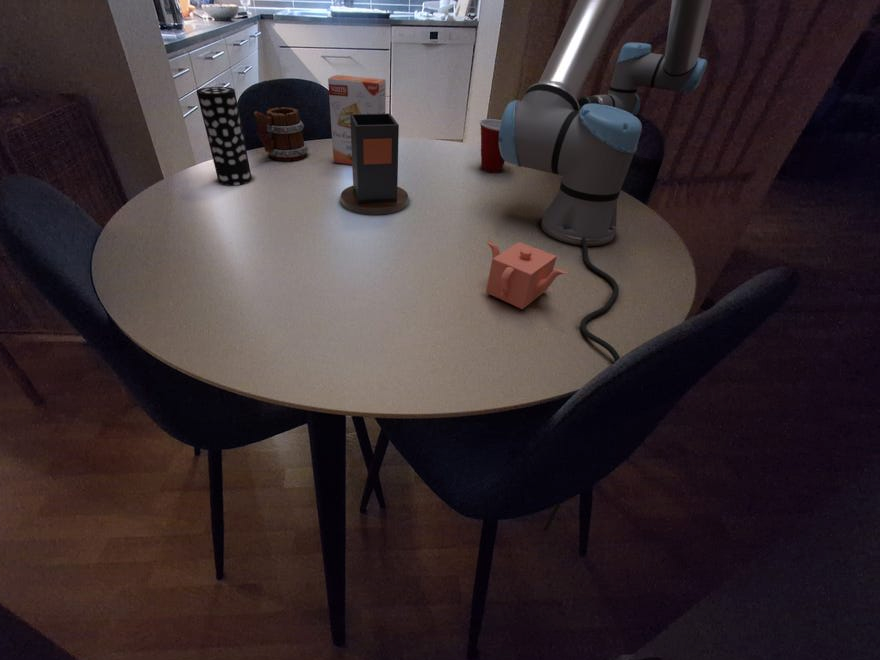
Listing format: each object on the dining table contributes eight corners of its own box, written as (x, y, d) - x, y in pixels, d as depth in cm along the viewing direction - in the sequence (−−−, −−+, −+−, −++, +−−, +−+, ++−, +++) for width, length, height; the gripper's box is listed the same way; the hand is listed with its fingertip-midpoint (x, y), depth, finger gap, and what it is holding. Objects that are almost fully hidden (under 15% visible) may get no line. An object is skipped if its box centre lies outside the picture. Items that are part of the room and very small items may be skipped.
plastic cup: (514, 176, 120) (523, 128, 112) (475, 175, 120) (482, 127, 112) (507, 163, 128) (516, 118, 120) (471, 162, 128) (477, 117, 120)
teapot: (537, 327, 68) (551, 281, 63) (460, 290, 76) (467, 246, 70) (571, 297, 75) (586, 253, 69) (498, 266, 82) (506, 224, 77)
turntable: (410, 215, 99) (410, 208, 98) (339, 215, 98) (339, 208, 97) (405, 189, 111) (405, 182, 110) (342, 188, 110) (342, 182, 109)
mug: (319, 153, 130) (307, 98, 118) (283, 174, 123) (267, 117, 112) (293, 145, 135) (279, 92, 124) (257, 164, 128) (239, 109, 117)
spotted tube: (253, 183, 111) (236, 93, 98) (219, 186, 109) (197, 94, 95) (249, 172, 117) (232, 86, 103) (217, 175, 114) (195, 87, 101)
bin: (389, 185, 108) (390, 113, 97) (397, 201, 100) (399, 125, 90) (353, 187, 106) (350, 114, 96) (358, 203, 99) (355, 126, 88)
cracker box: (332, 163, 124) (326, 77, 110) (341, 157, 129) (335, 73, 115) (379, 169, 121) (378, 82, 108) (385, 163, 126) (386, 78, 112)
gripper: (618, 136, 119) (556, 143, 113) (559, 115, 136) (502, 120, 130) (628, 105, 114) (564, 111, 108) (566, 87, 131) (507, 91, 125)
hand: (530, 116), depth 119 cm, fingers open, 13 cm apart
